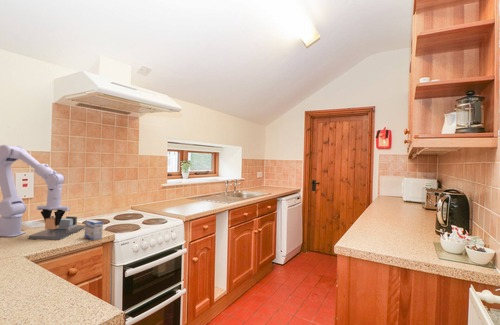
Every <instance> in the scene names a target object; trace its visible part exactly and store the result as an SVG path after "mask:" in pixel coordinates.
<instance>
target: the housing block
mask: <svg viewBox="0 0 500 325" xmlns="http://www.w3.org/2000/svg"><path fill="white" fill-rule="evenodd" d="M56 228H59V225H57V226H55V215H51V217H50V218H47V219H46V220H44V230H47V229H56Z"/></svg>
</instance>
